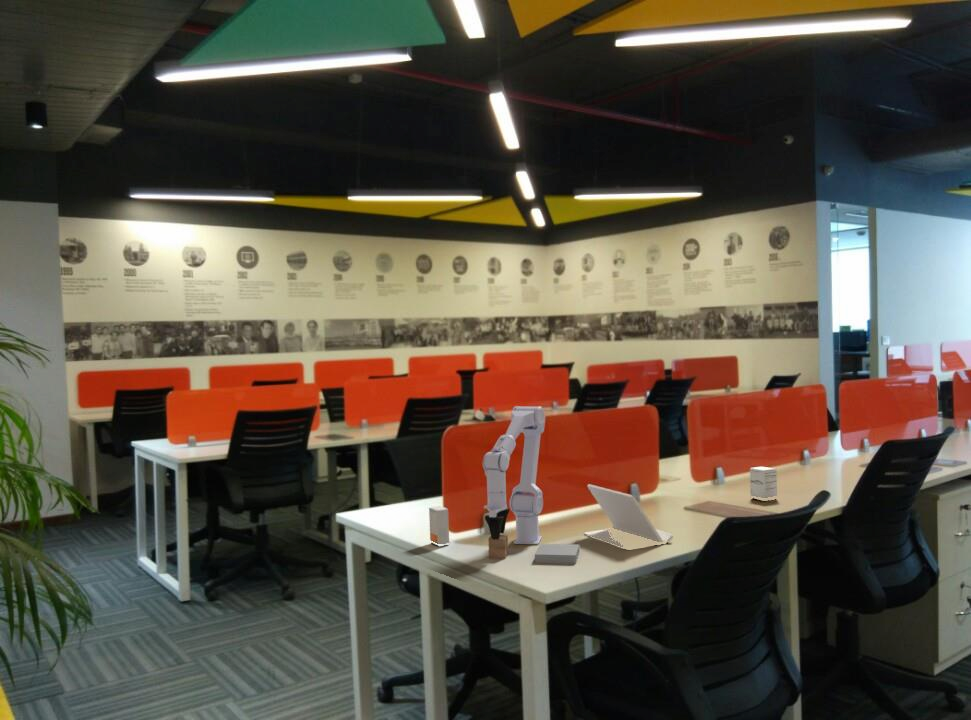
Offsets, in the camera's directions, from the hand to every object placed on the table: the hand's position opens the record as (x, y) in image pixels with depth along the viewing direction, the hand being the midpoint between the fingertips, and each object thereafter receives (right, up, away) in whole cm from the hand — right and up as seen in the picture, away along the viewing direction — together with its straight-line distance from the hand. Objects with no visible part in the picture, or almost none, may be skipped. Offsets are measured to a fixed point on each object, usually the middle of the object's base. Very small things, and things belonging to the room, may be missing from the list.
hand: (498, 536), depth 232 cm
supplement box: (+106, -2, +69) cm, 127 cm away
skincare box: (-19, -7, +16) cm, 26 cm away
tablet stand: (+42, -5, +16) cm, 46 cm away
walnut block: (0, -6, 0) cm, 6 cm away
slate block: (+18, -6, -4) cm, 19 cm away
